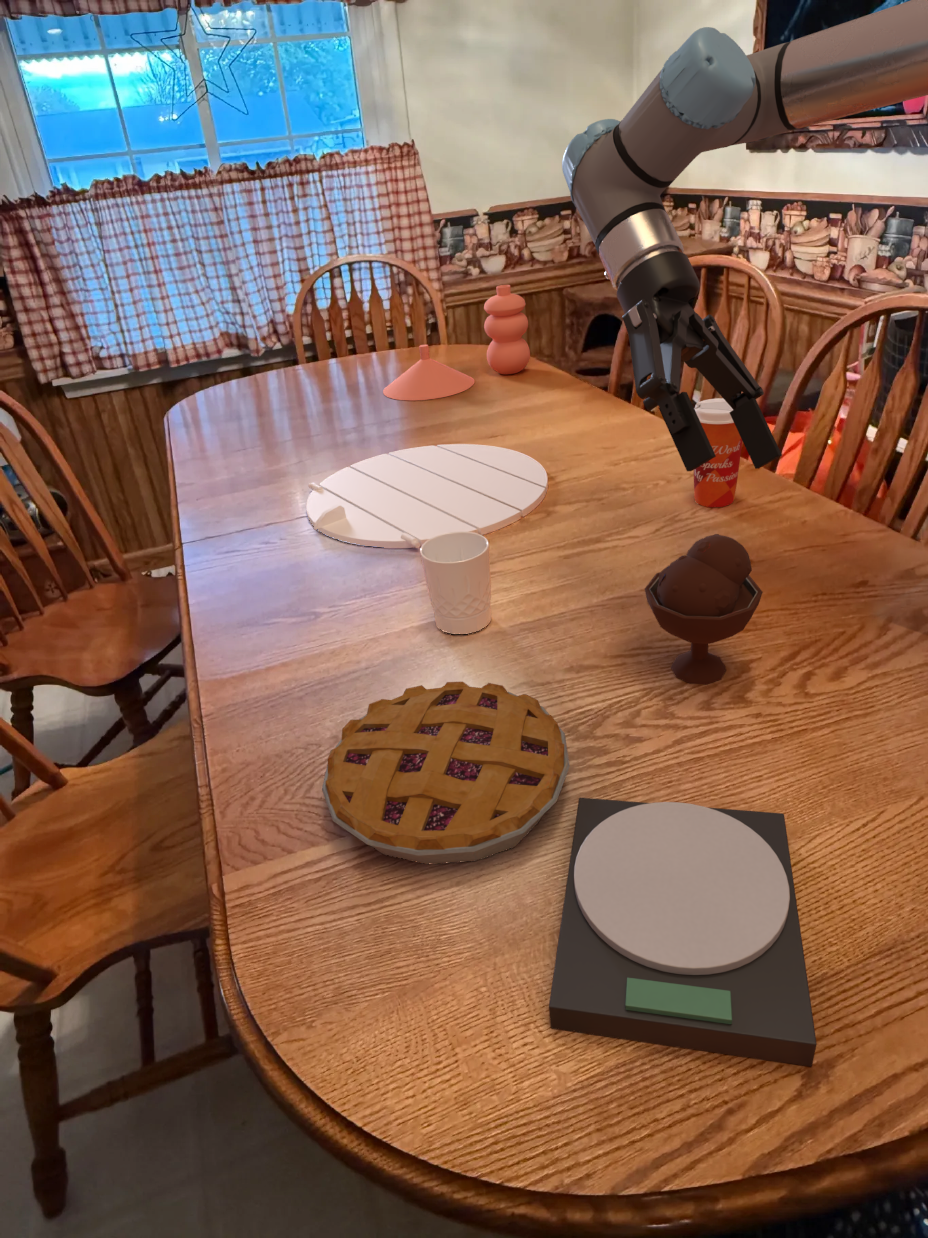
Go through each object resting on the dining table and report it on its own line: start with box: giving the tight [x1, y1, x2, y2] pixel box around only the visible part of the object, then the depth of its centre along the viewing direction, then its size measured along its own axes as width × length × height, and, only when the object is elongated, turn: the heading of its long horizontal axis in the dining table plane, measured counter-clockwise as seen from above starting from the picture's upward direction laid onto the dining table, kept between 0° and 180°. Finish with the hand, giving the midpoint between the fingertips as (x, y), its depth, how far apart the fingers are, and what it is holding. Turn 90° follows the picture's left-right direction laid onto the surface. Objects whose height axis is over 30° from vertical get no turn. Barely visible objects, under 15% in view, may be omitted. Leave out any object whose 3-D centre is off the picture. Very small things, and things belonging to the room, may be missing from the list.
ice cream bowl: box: [644, 533, 764, 685], centre depth 81 cm, size 11×11×15 cm
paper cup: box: [693, 397, 743, 508], centre depth 116 cm, size 8×8×14 cm
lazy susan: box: [305, 443, 549, 549], centre depth 132 cm, size 40×39×3 cm
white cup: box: [419, 532, 492, 634], centre depth 96 cm, size 8×8×10 cm
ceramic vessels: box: [382, 284, 531, 401], centre depth 184 cm, size 35×21×19 cm, turn 105°
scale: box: [548, 797, 818, 1067], centre depth 59 cm, size 16×19×3 cm
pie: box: [321, 681, 570, 865], centre depth 73 cm, size 22×22×5 cm
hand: (737, 463), depth 78 cm, fingers open, 13 cm apart
